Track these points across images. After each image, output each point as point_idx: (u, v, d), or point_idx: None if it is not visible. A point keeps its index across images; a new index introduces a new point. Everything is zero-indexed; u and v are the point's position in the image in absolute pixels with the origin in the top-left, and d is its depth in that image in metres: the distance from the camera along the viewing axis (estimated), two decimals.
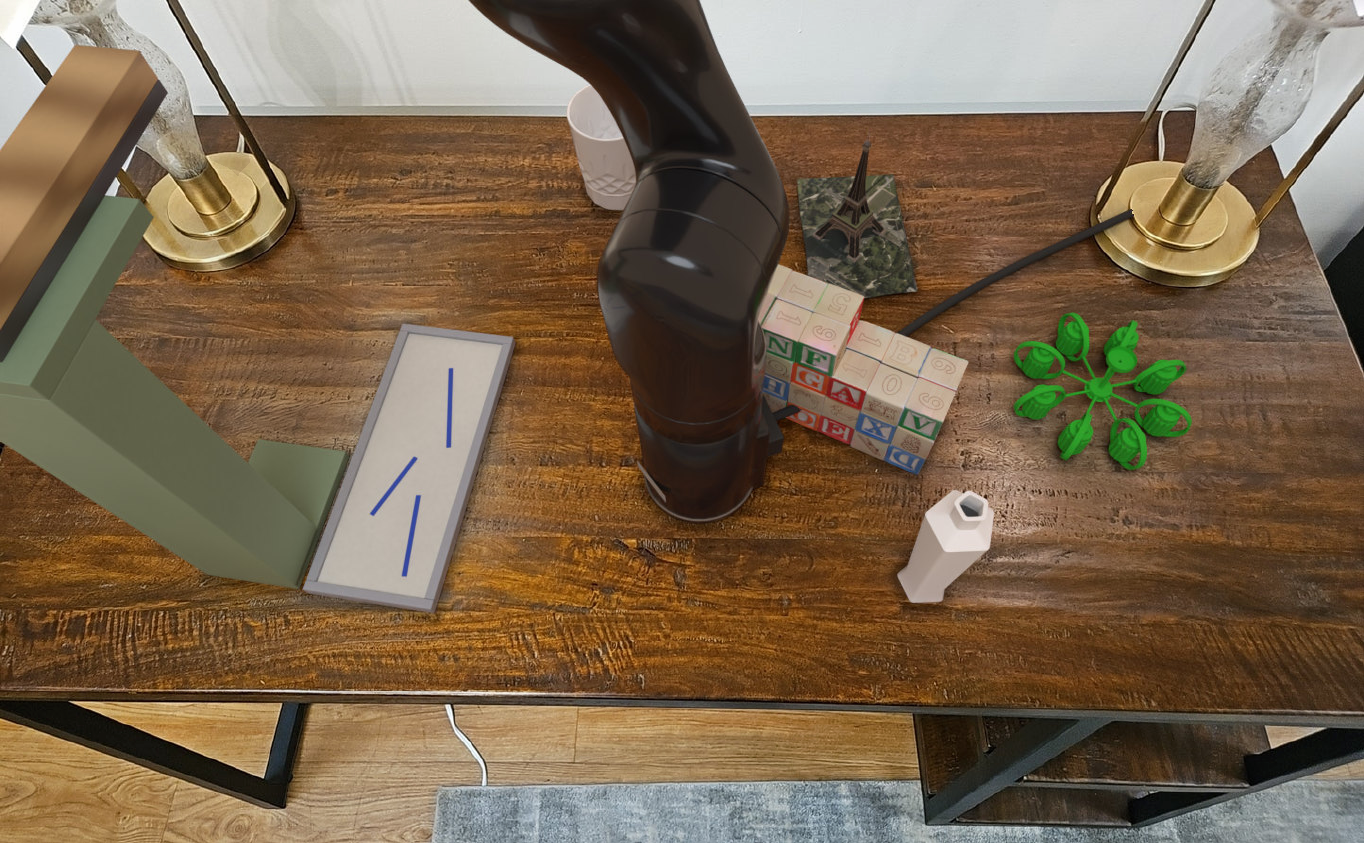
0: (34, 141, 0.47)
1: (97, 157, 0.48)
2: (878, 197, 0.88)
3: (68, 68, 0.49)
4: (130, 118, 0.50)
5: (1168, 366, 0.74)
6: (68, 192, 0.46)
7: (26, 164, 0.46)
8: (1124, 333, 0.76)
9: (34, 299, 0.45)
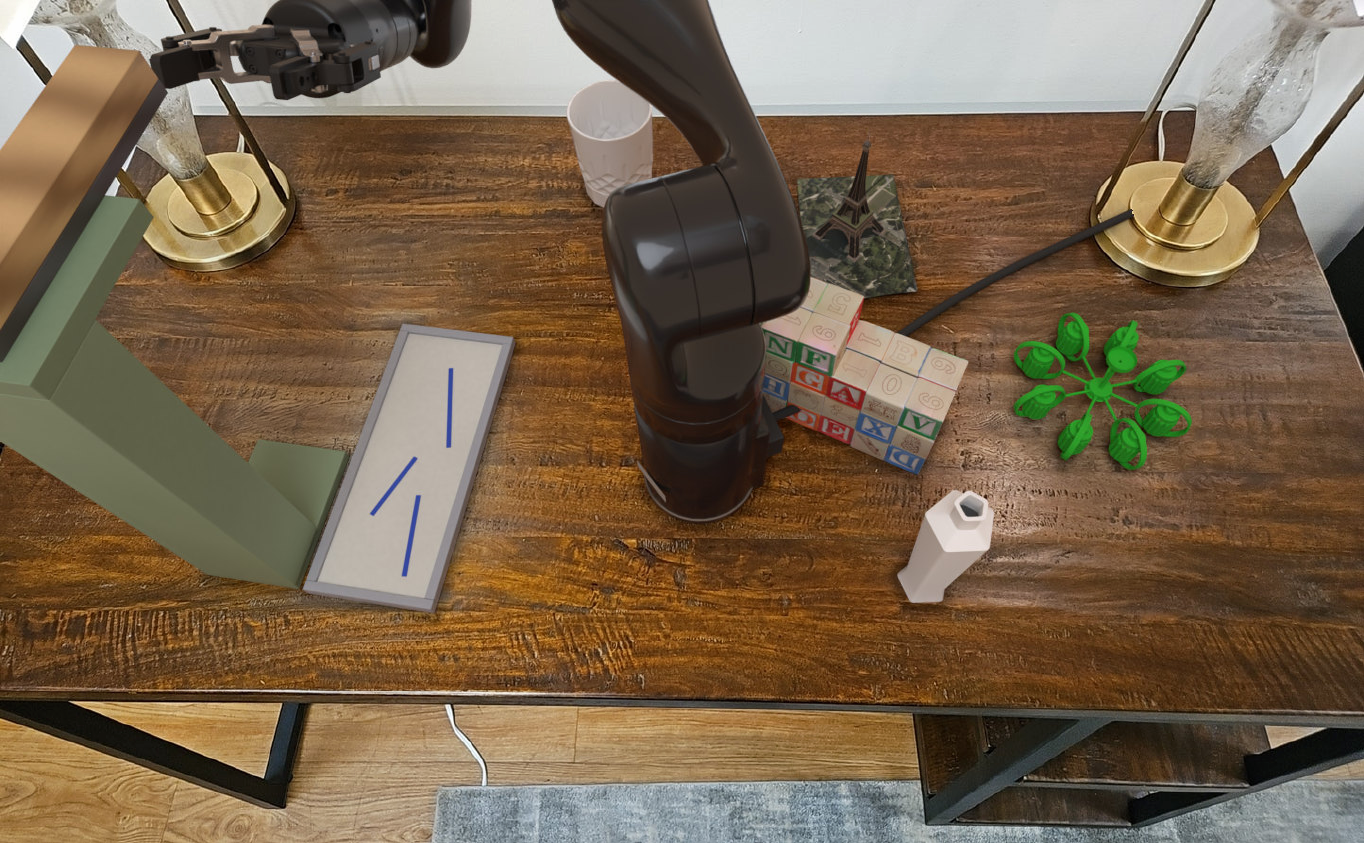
0: (34, 141, 0.47)
1: (97, 157, 0.48)
2: (878, 197, 0.88)
3: (68, 68, 0.49)
4: (130, 118, 0.50)
5: (1168, 366, 0.74)
6: (68, 192, 0.46)
7: (26, 164, 0.46)
8: (1124, 333, 0.76)
9: (34, 299, 0.45)
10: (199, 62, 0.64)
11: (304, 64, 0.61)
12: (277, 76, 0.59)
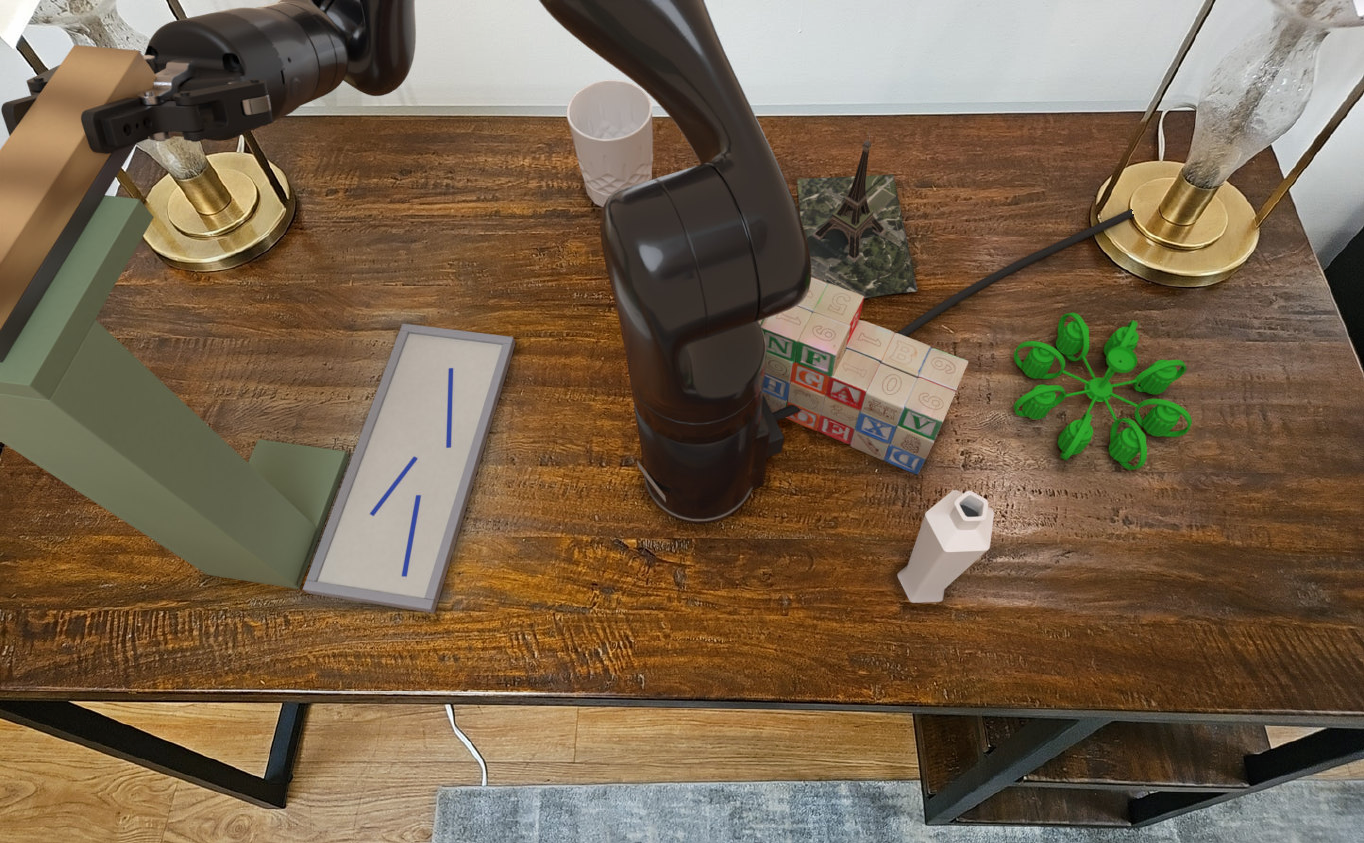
0: (34, 141, 0.47)
1: (97, 157, 0.48)
2: (878, 197, 0.88)
3: (68, 68, 0.49)
4: None
5: (1168, 366, 0.74)
6: (67, 191, 0.46)
7: (26, 164, 0.46)
8: (1124, 333, 0.76)
9: (34, 299, 0.45)
10: None
11: (134, 107, 0.49)
12: (91, 125, 0.47)
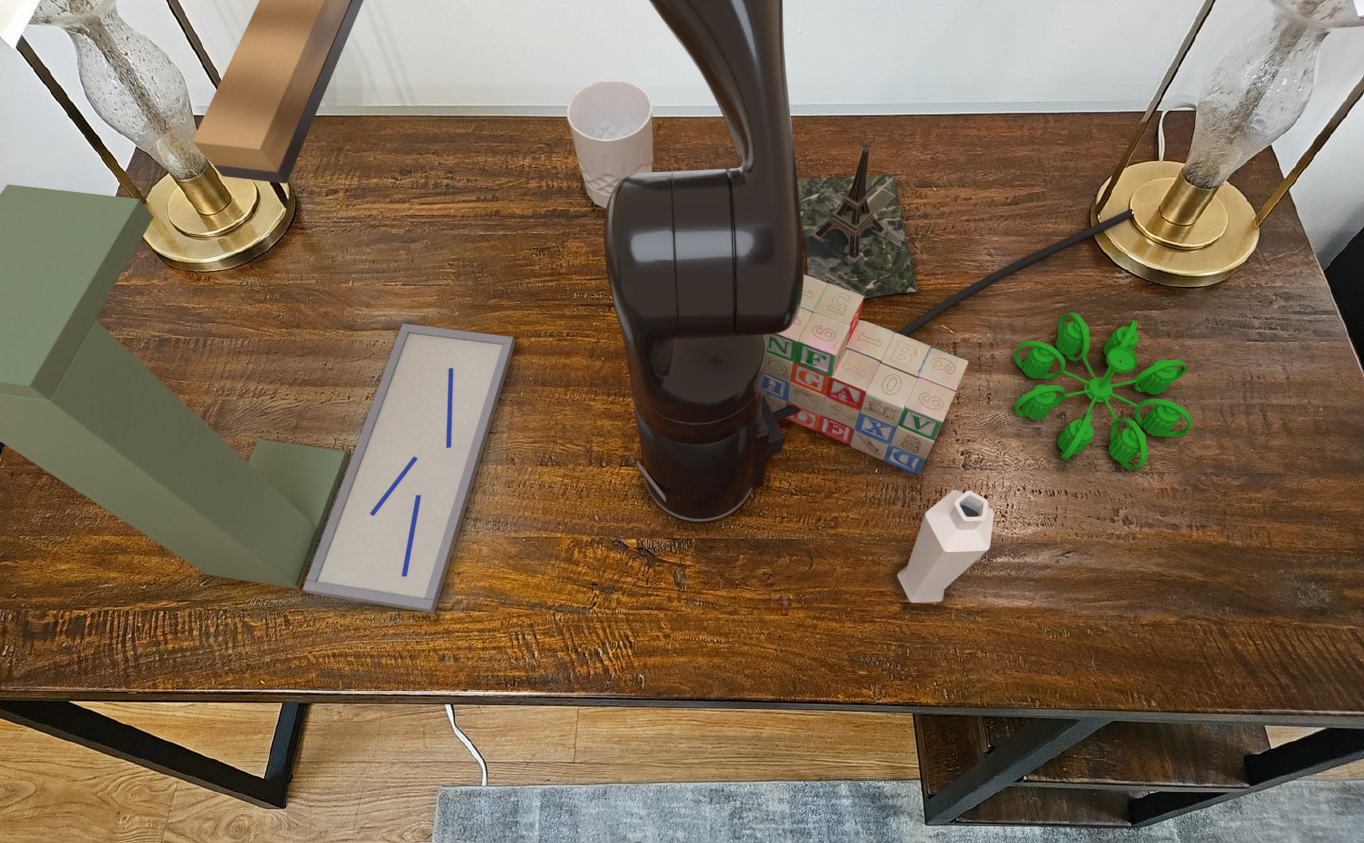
0: None
1: None
2: (878, 198, 0.88)
3: None
4: None
5: (1168, 366, 0.74)
6: (325, 30, 0.51)
7: (289, 4, 0.51)
8: (1124, 333, 0.76)
9: (306, 128, 0.51)
10: None
11: None
12: None
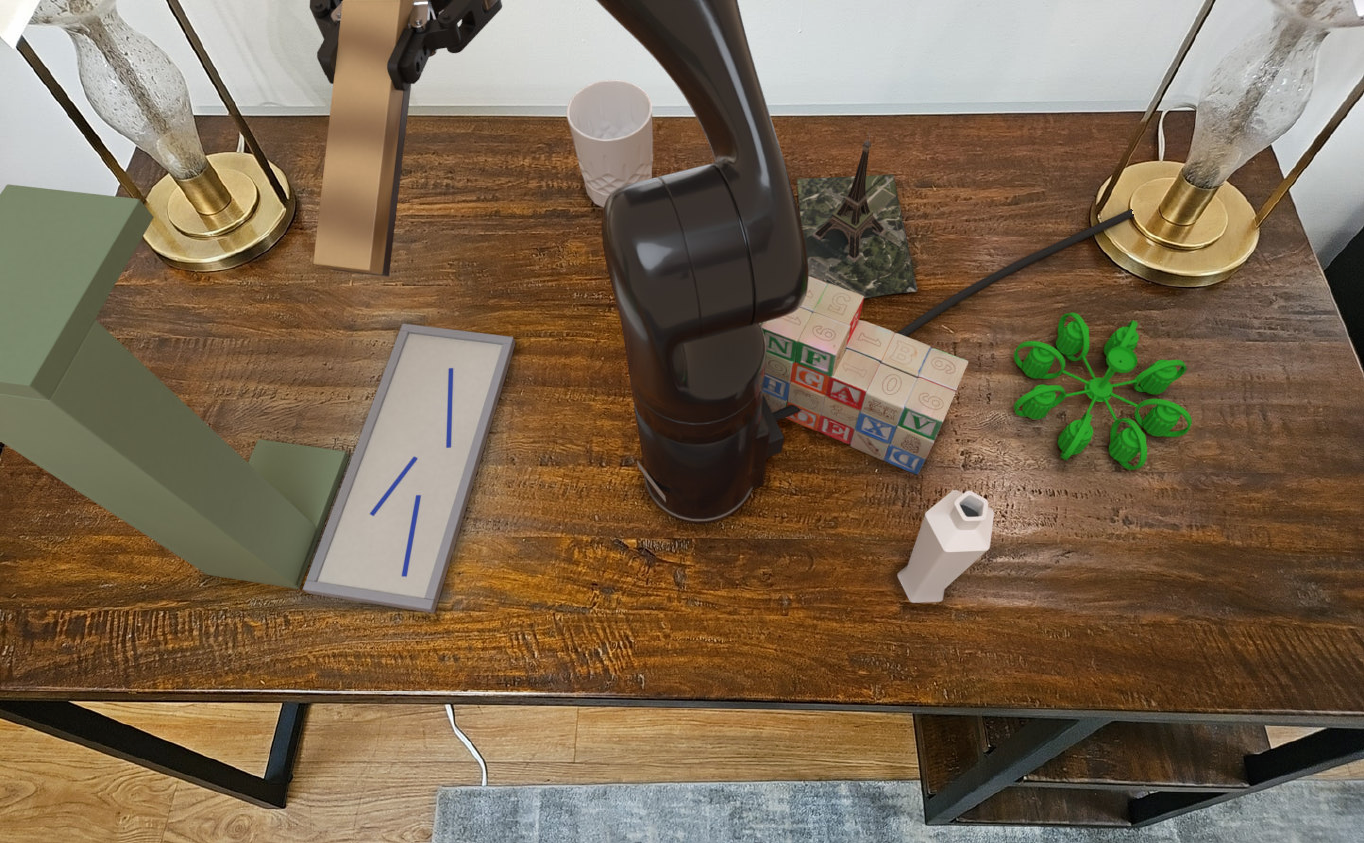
0: (354, 91, 0.59)
1: (399, 93, 0.60)
2: (878, 197, 0.88)
3: (350, 6, 0.58)
4: None
5: (1168, 366, 0.74)
6: (392, 133, 0.59)
7: (358, 115, 0.59)
8: (1124, 333, 0.76)
9: (393, 223, 0.61)
10: None
11: (413, 39, 0.59)
12: (396, 74, 0.58)
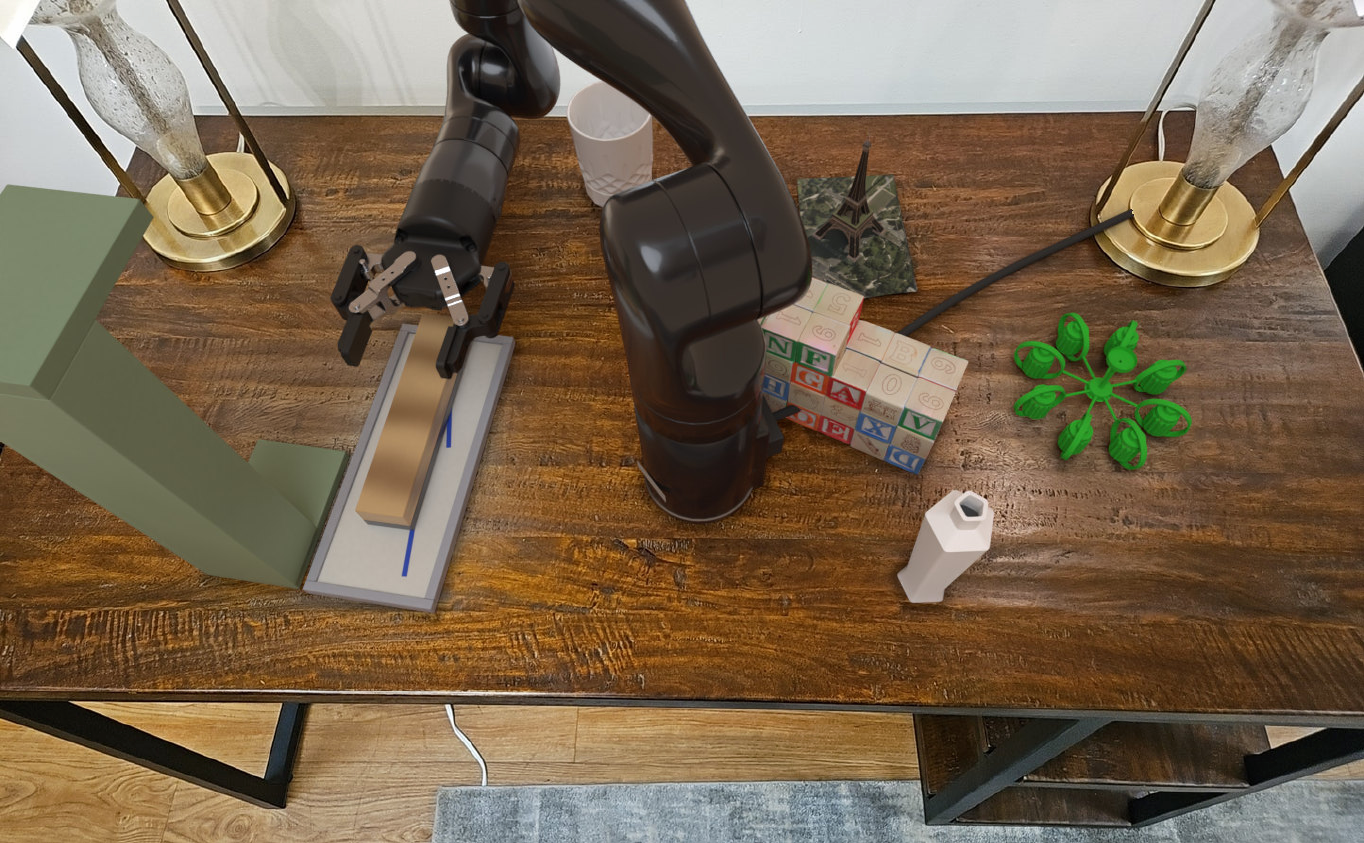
0: (415, 386, 0.75)
1: (449, 392, 0.76)
2: (878, 198, 0.88)
3: (423, 331, 0.78)
4: None
5: (1168, 366, 0.74)
6: (438, 419, 0.75)
7: (414, 403, 0.74)
8: (1124, 333, 0.76)
9: (425, 488, 0.74)
10: (368, 316, 0.72)
11: (456, 335, 0.70)
12: (443, 370, 0.68)
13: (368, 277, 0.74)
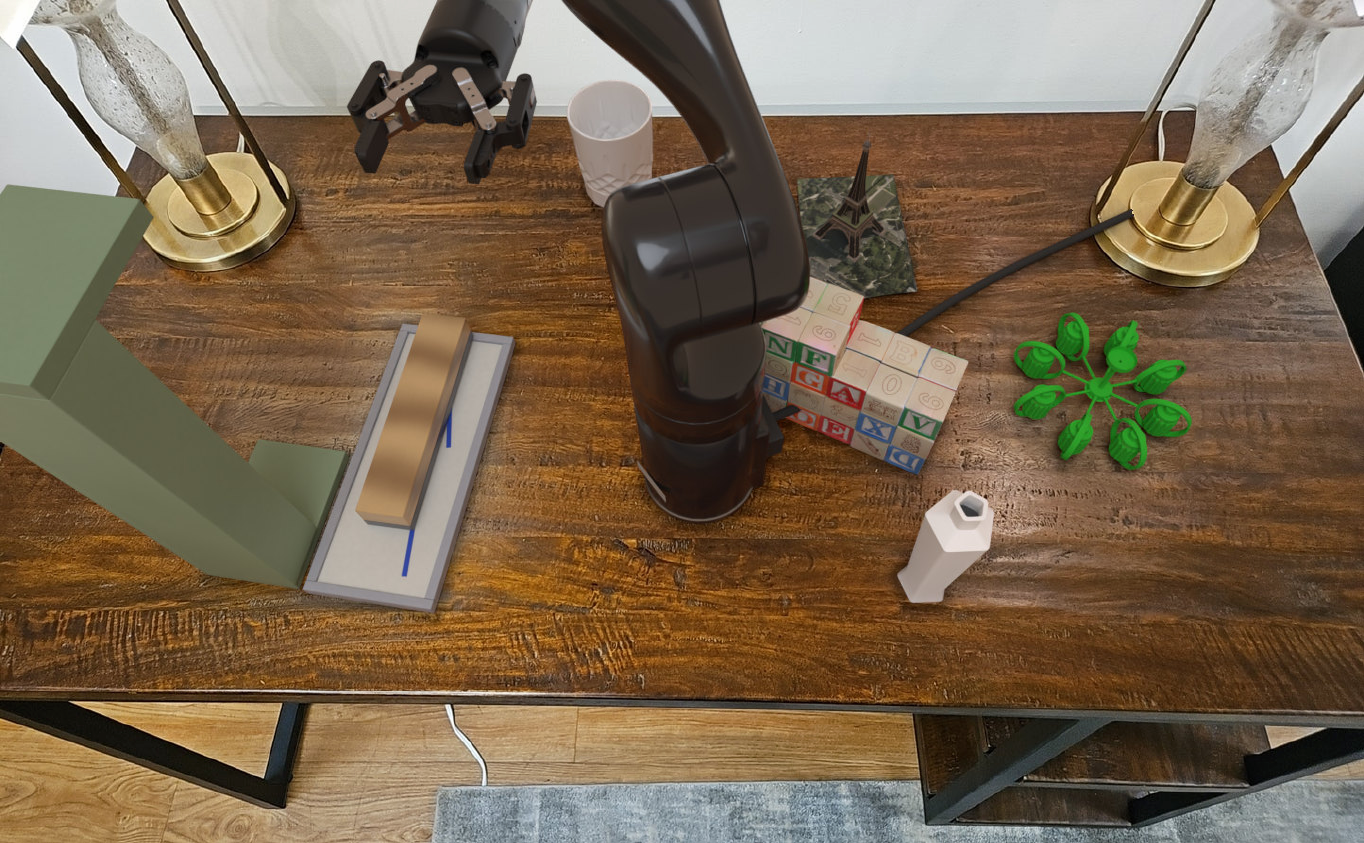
0: (415, 386, 0.75)
1: (449, 392, 0.76)
2: (878, 198, 0.88)
3: (423, 331, 0.78)
4: (460, 361, 0.78)
5: (1168, 366, 0.74)
6: (438, 419, 0.75)
7: (414, 403, 0.74)
8: (1124, 333, 0.76)
9: (425, 488, 0.74)
10: (385, 126, 0.71)
11: (484, 140, 0.69)
12: (471, 171, 0.68)
13: (387, 94, 0.73)
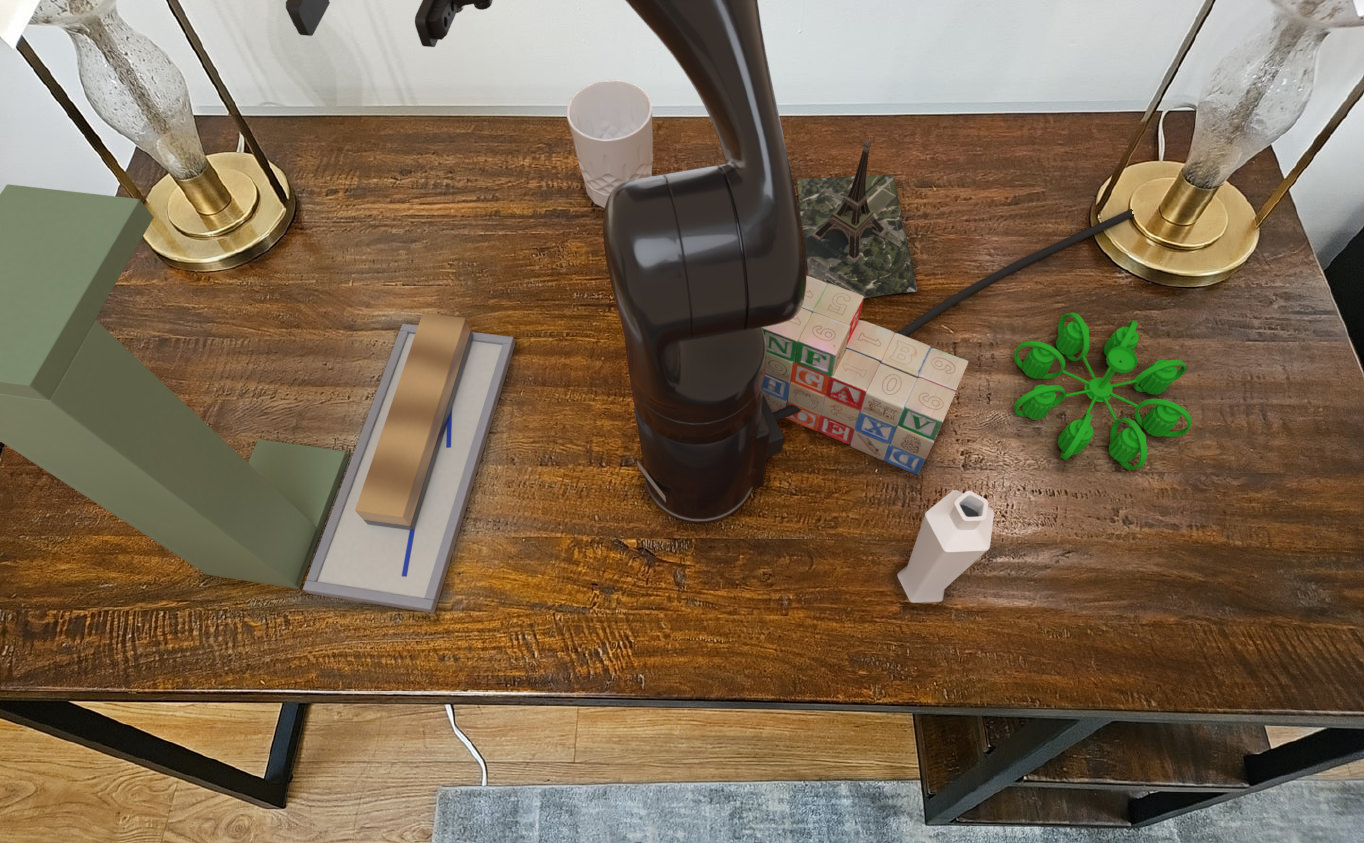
0: (415, 386, 0.75)
1: (449, 392, 0.76)
2: (878, 198, 0.88)
3: (423, 331, 0.78)
4: (460, 361, 0.78)
5: (1168, 366, 0.74)
6: (438, 419, 0.75)
7: (414, 403, 0.74)
8: (1124, 333, 0.76)
9: (425, 488, 0.74)
10: None
11: None
12: (424, 29, 0.57)
13: None
